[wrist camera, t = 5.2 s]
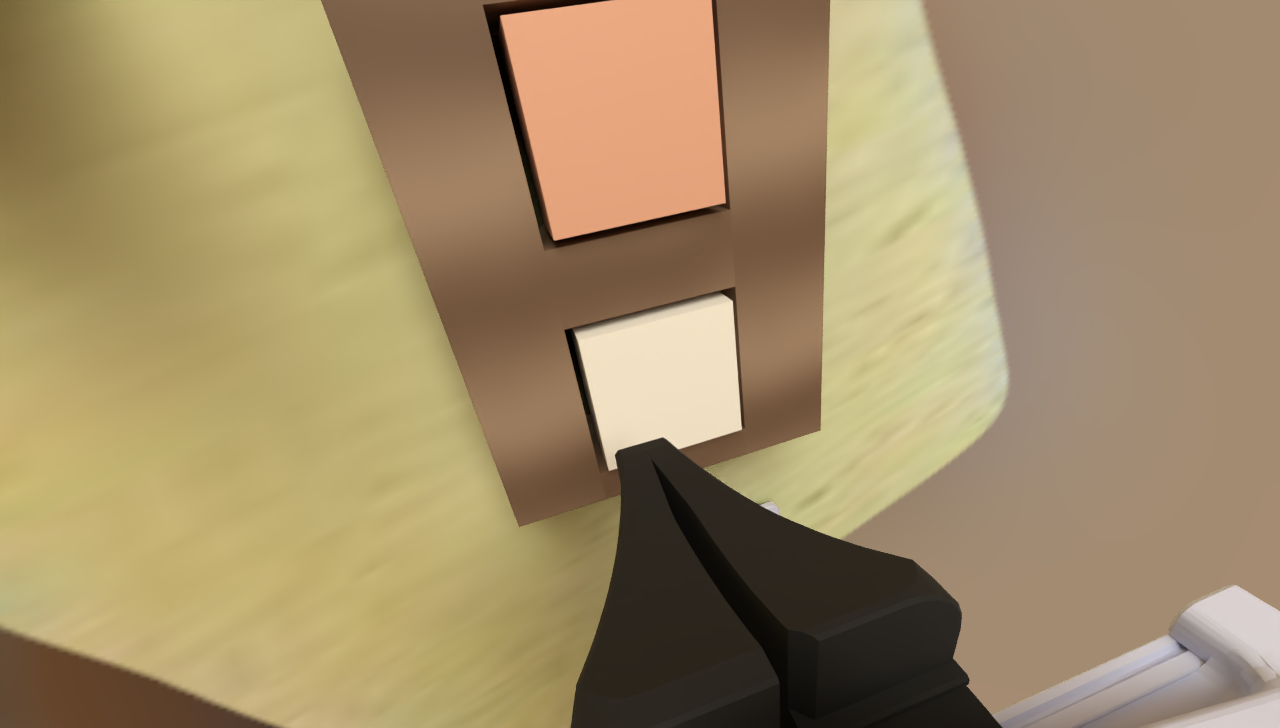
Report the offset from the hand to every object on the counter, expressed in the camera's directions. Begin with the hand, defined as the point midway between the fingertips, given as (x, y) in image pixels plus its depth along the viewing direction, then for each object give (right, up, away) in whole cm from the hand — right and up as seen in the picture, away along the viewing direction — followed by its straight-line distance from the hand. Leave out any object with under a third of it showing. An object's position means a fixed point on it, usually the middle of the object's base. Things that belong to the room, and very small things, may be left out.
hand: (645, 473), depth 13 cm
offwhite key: (0, +3, +5) cm, 6 cm away
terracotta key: (-1, +10, +2) cm, 10 cm away
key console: (-1, +7, +5) cm, 9 cm away
